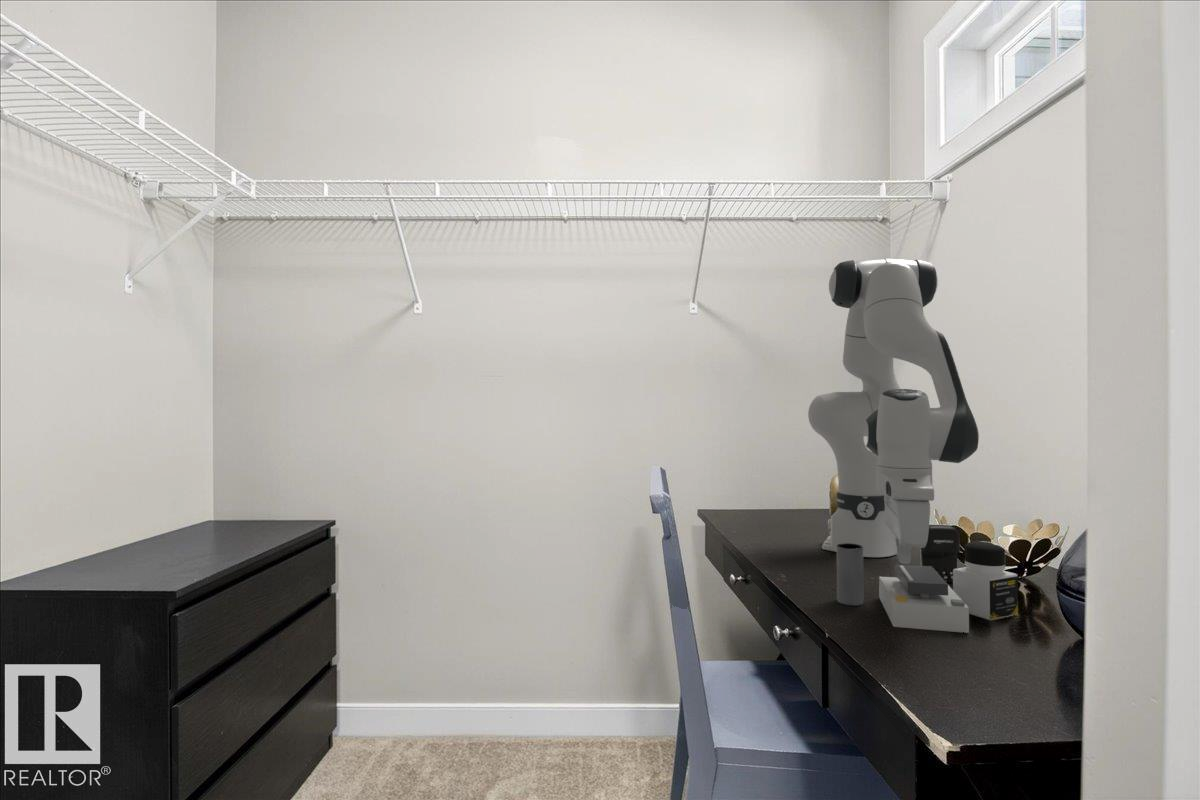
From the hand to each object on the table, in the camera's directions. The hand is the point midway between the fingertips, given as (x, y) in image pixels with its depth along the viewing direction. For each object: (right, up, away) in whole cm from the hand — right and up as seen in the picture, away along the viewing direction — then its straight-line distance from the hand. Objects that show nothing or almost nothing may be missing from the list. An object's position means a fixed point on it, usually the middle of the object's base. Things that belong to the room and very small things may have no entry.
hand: (903, 561), depth 113 cm
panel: (+2, -9, -1) cm, 9 cm away
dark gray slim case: (+2, -3, -1) cm, 4 cm away
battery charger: (+16, -9, +19) cm, 27 cm away
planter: (-7, -9, +6) cm, 13 cm away
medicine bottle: (+14, -9, 0) cm, 17 cm away
